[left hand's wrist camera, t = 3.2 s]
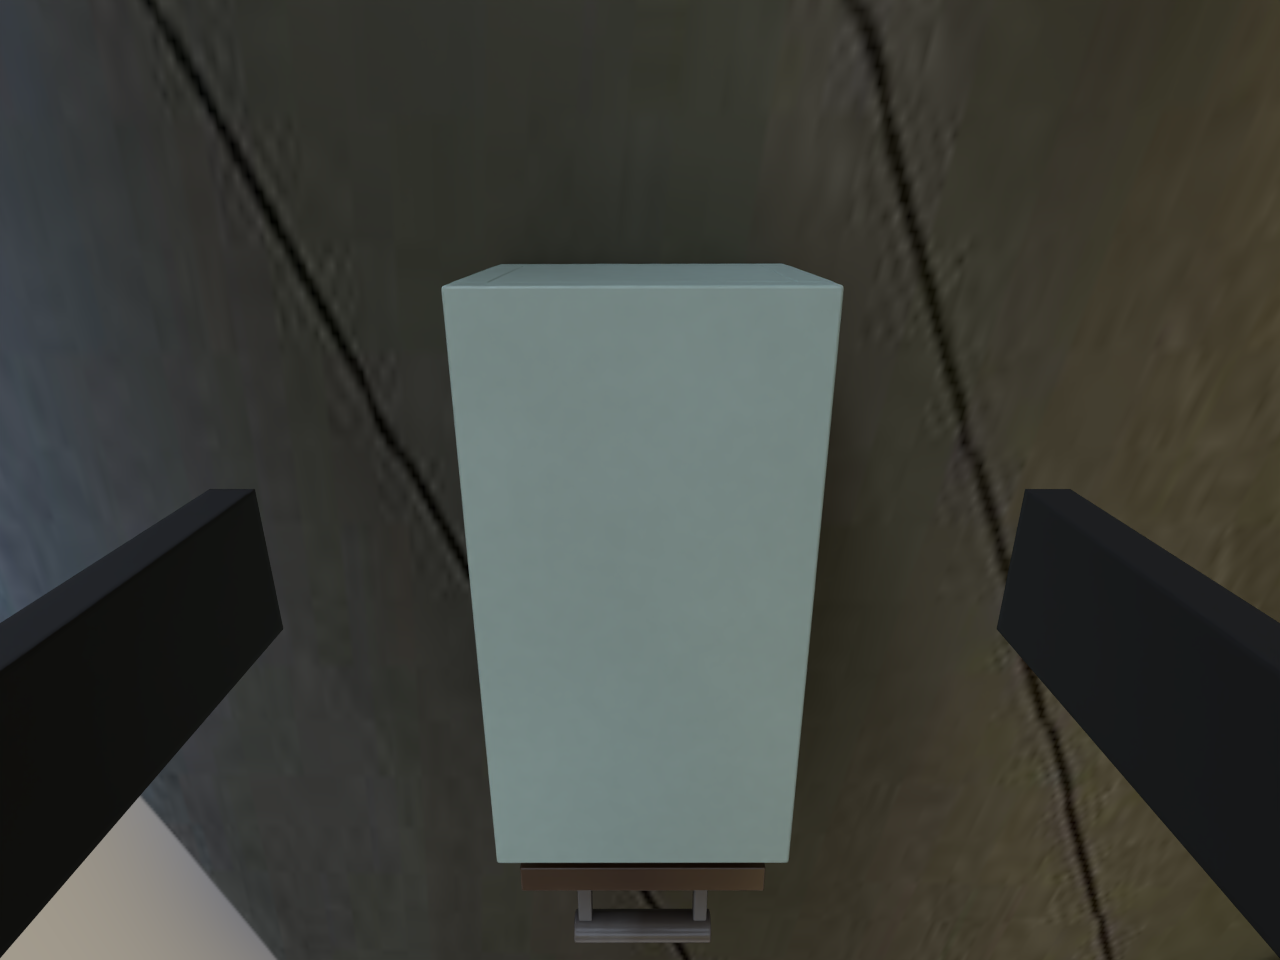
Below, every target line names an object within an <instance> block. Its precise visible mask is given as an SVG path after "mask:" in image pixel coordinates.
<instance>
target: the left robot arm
mask: <svg viewBox="0 0 1280 960" xmlns="http://www.w3.org/2000/svg"><path fill="white" fill-rule="evenodd" d="M282 630H283V625H282V620H281V616H280V611H279V606H278V601H277V596H276V591H275V586H274V581H273V576H272V571H271V567H270V562H269V557H268V552H267V547H266V542H265V537H264V532H263V527H262V522H261V518H260V513H259V508H258V503H257V498H256V493H255V489H209V490H208V491H206V492H205V493H203V494H202V495H200V496H198V497H197V498H195V499H194V500H192V501H191V502H189V503H187V504H186V505H184V506H183V507H181V508H180V509H178V510H176V511H175V512H173V513H172V514H170V515H169V516H167V517H166V518H164V519H162V520H161V521H159V522H158V523H156V524H155V525H153V526H151V527H150V528H148V529H147V530H145V531H144V532H142V533H141V534H139V535H137V536H136V537H134V538H133V539H131V540H130V541H128V542H126V543H125V544H123V545H122V546H120V547H119V548H117V549H116V550H114V551H112V552H111V553H109V554H108V555H106V556H105V557H103V558H101V559H100V560H98V561H97V562H95V563H94V564H92V565H91V566H89V567H87V568H86V569H84V570H83V571H81V572H80V573H78V574H76V575H75V576H73V577H72V578H70V579H69V580H67V581H66V582H64V583H62V584H61V585H59V586H58V587H56V588H55V589H53V590H51V591H50V592H48V593H47V594H45V595H44V596H42V597H41V598H39V599H37V600H36V601H34V602H33V603H31V604H30V605H28V606H26V607H25V608H23V609H22V610H20V611H19V612H17V613H15V614H14V615H12V616H11V617H9V618H8V619H6V620H5V621H3V622H1V623H0V958H1V957H2V955H3V954H4V953H5V952H6V951H7V950H8V948H9V947H10V946H11V945H12V944H13V943H14V941H15V940H16V939H17V938H18V937H19V936H20V934H21V933H22V932H23V931H24V930H25V929H26V927H27V926H28V925H29V924H30V923H31V922H32V920H33V919H34V918H35V917H36V916H37V915H38V913H39V912H40V911H41V910H42V909H43V908H44V907H45V905H46V904H47V903H48V902H49V901H50V900H51V898H52V897H53V896H54V895H55V894H56V893H57V891H58V890H59V889H60V888H61V887H62V886H63V884H64V883H65V882H66V881H67V880H68V879H69V877H70V876H71V875H72V874H73V873H74V872H75V870H76V869H77V868H78V867H79V866H80V865H81V864H82V862H83V861H84V860H85V859H86V858H87V856H88V855H89V854H90V853H91V852H92V851H93V850H94V848H95V847H96V846H97V845H98V844H99V843H100V841H101V840H102V839H103V838H104V837H105V836H106V834H107V833H108V832H109V831H110V830H111V829H112V827H113V826H114V825H115V824H116V823H117V822H118V820H119V819H120V818H121V817H122V816H123V815H124V814H125V812H126V811H127V810H128V809H129V808H130V807H131V805H132V804H133V803H134V802H135V801H136V800H137V798H138V797H139V796H140V795H141V794H142V793H143V791H144V790H145V789H146V788H147V787H148V786H149V784H150V783H151V782H152V781H153V780H154V779H155V777H156V776H157V775H158V774H159V773H160V772H161V770H162V769H163V768H164V767H165V766H166V765H167V763H168V762H169V761H170V760H171V759H172V758H173V757H174V755H175V754H176V753H177V752H178V751H179V750H180V748H181V747H182V746H183V745H184V744H185V743H186V741H187V740H188V739H189V738H190V737H191V736H192V734H193V733H194V732H195V731H196V730H197V729H198V727H199V726H200V725H201V724H202V723H203V722H204V720H205V719H206V718H207V717H208V716H209V715H210V713H211V712H212V711H213V710H214V709H215V708H216V707H217V705H218V704H219V703H220V702H221V701H222V700H223V698H224V697H225V696H226V695H227V694H228V693H229V691H230V690H231V689H232V688H233V687H234V686H235V684H236V683H237V682H238V681H239V680H240V679H241V677H242V676H243V675H244V674H245V673H246V672H247V670H248V669H249V668H250V667H251V666H252V665H253V663H254V662H255V661H256V660H257V659H258V658H259V656H260V655H261V654H262V653H263V652H264V651H265V650H266V648H267V647H268V646H269V645H270V644H271V643H272V641H273V640H274V639H275V638H276V637H277V636H278V634H279V633H280V632H281V631H282ZM997 630H998V631H999V632H1000V633H1001V634H1002V636H1003V637H1004V638H1005V639H1006V640H1007V641H1008V643H1009V644H1010V645H1011V646H1012V647H1013V648H1014V650H1015V651H1016V652H1017V653H1018V654H1019V655H1020V656H1021V658H1022V659H1023V660H1024V661H1025V662H1026V663H1027V665H1028V666H1029V667H1030V668H1031V669H1032V670H1033V672H1034V673H1035V674H1036V675H1037V676H1038V677H1039V679H1040V680H1041V681H1042V682H1043V683H1044V684H1045V686H1046V687H1047V688H1048V689H1049V690H1050V691H1051V693H1052V694H1053V695H1054V696H1055V697H1056V698H1057V700H1058V701H1059V702H1060V703H1061V704H1062V705H1063V707H1064V708H1065V709H1066V710H1067V711H1068V712H1069V713H1070V715H1071V716H1072V717H1073V718H1074V719H1075V720H1076V722H1077V723H1078V724H1079V725H1080V726H1081V727H1082V729H1083V730H1084V731H1085V732H1086V733H1087V734H1088V736H1089V737H1090V738H1091V739H1092V740H1093V741H1094V743H1095V744H1096V745H1097V746H1098V747H1099V748H1100V750H1101V751H1102V752H1103V753H1104V754H1105V755H1106V757H1107V758H1108V759H1109V760H1110V761H1111V762H1112V763H1113V765H1114V766H1115V767H1116V768H1117V769H1118V770H1119V772H1120V773H1121V774H1122V775H1123V776H1124V777H1125V779H1126V780H1127V781H1128V782H1129V783H1130V784H1131V786H1132V787H1133V788H1134V789H1135V790H1136V791H1137V793H1138V794H1139V795H1140V796H1141V797H1142V798H1143V800H1144V801H1145V802H1146V803H1147V804H1148V805H1149V807H1150V808H1151V809H1152V810H1153V811H1154V812H1155V814H1156V815H1157V816H1158V817H1159V818H1160V819H1161V820H1162V822H1163V823H1164V824H1165V825H1166V826H1167V827H1168V829H1169V830H1170V831H1171V832H1172V833H1173V834H1174V836H1175V837H1176V838H1177V839H1178V840H1179V841H1180V843H1181V844H1182V845H1183V846H1184V847H1185V848H1186V850H1187V851H1188V852H1189V853H1190V854H1191V855H1192V857H1193V858H1194V859H1195V860H1196V861H1197V862H1198V864H1199V865H1200V866H1201V867H1202V868H1203V869H1204V870H1205V872H1206V873H1207V874H1208V875H1209V876H1210V877H1211V879H1212V880H1213V881H1214V882H1215V883H1216V884H1217V886H1218V887H1219V888H1220V889H1221V890H1222V891H1223V893H1224V894H1225V895H1226V896H1227V897H1228V898H1229V900H1230V901H1231V902H1232V903H1233V904H1234V905H1235V907H1236V908H1237V909H1238V910H1239V911H1240V912H1241V914H1242V915H1243V916H1244V917H1245V918H1246V919H1247V921H1248V922H1249V923H1250V924H1251V925H1252V926H1253V927H1254V929H1255V930H1256V931H1257V932H1258V933H1259V934H1260V936H1261V937H1262V938H1263V939H1264V940H1265V941H1266V943H1267V944H1268V945H1269V946H1270V947H1271V948H1272V950H1273V951H1274V952H1275V953H1276V954H1277V955H1278V957H1279V958H1280V623H1279V622H1277V621H1275V620H1274V619H1272V618H1271V617H1269V616H1268V615H1266V614H1265V613H1263V612H1261V611H1260V610H1258V609H1257V608H1255V607H1254V606H1252V605H1250V604H1249V603H1247V602H1246V601H1244V600H1243V599H1241V598H1239V597H1238V596H1236V595H1235V594H1233V593H1232V592H1230V591H1229V590H1227V589H1225V588H1224V587H1222V586H1221V585H1219V584H1218V583H1216V582H1214V581H1213V580H1211V579H1210V578H1208V577H1207V576H1205V575H1204V574H1202V573H1200V572H1199V571H1197V570H1196V569H1194V568H1193V567H1191V566H1189V565H1188V564H1186V563H1185V562H1183V561H1182V560H1180V559H1179V558H1177V557H1175V556H1174V555H1172V554H1171V553H1169V552H1168V551H1166V550H1164V549H1163V548H1161V547H1160V546H1158V545H1157V544H1155V543H1154V542H1152V541H1150V540H1149V539H1147V538H1146V537H1144V536H1143V535H1141V534H1139V533H1138V532H1136V531H1135V530H1133V529H1132V528H1130V527H1129V526H1127V525H1125V524H1124V523H1122V522H1121V521H1119V520H1118V519H1116V518H1114V517H1113V516H1111V515H1110V514H1108V513H1107V512H1105V511H1104V510H1102V509H1100V508H1099V507H1097V506H1096V505H1094V504H1093V503H1091V502H1089V501H1088V500H1086V499H1085V498H1083V497H1082V496H1080V495H1078V494H1077V493H1075V492H1074V491H1072V490H1071V489H1025V493H1024V498H1023V503H1022V508H1021V513H1020V517H1019V522H1018V527H1017V532H1016V537H1015V542H1014V547H1013V552H1012V557H1011V562H1010V567H1009V571H1008V576H1007V581H1006V586H1005V591H1004V596H1003V601H1002V606H1001V611H1000V616H999V620H998V625H997Z"/></svg>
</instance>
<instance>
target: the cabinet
mask: <svg viewBox="0 0 1280 960" xmlns="http://www.w3.org/2000/svg"><path fill="white" fill-rule="evenodd" d="M441 290H442V300H443V310H444V321H445V331H446V341H447V351H448V362H449V372H450V382H451V392H452V403H453V413H454V423H455V434H456V444H457V454H458V464H459V475H460V485H461V495H462V506H463V516H464V526H465V536H466V547H467V557H468V567H469V577H470V588H471V598H472V608H473V619H474V629H475V639H476V649H477V660H478V670H479V680H480V691H481V701H482V711H483V721H484V732H485V742H486V752H487V762H488V773H489V783H490V793H491V804H492V814H493V824H494V834H495V845H496V855H497V862H499V863H786V862H788V860H789V850H790V840H791V829H792V819H793V809H794V798H795V788H796V778H797V767H798V757H799V747H800V736H801V726H802V716H803V705H804V695H805V684H806V674H807V664H808V653H809V643H810V633H811V622H812V612H813V602H814V591H815V581H816V571H817V560H818V550H819V539H820V529H821V519H822V508H823V498H824V488H825V477H826V467H827V457H828V446H829V436H830V426H831V415H832V405H833V394H834V384H835V374H836V363H837V353H838V343H839V332H840V322H841V312H842V301H843V291H844V288H843V286H842V285H840V284H837V283H834V282H833V281H830V280H827V279H825V278H822V277H819V276H816V275H813V274H811V273H808V272H805V271H802V270H800V269H797V268H794V267H791V266H787V265H785V264H500V265H498V266H494V267H492V268H489V269H486V270H484V271H481V272H478V273H476V274H473V275H470V276H467V277H465V278H462V279H459V280H457V281H454V282H452V283H450V284H447V285H445V286H442V289H441Z"/></svg>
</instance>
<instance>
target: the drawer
mask: <svg viewBox="0 0 1280 960" xmlns="http://www.w3.org/2000/svg"><path fill="white" fill-rule="evenodd" d="M520 872H521V885H522V890H523V891H567V890H578V909H576V912H575V922H574V941H575V942H576V943H709V942H710V941H711V920H710V911H709V909H707V891H708V890H763V889H764V877H765V864H764V863H521V866H520ZM592 890H693V901H692V909H593V898H592Z"/></svg>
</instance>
